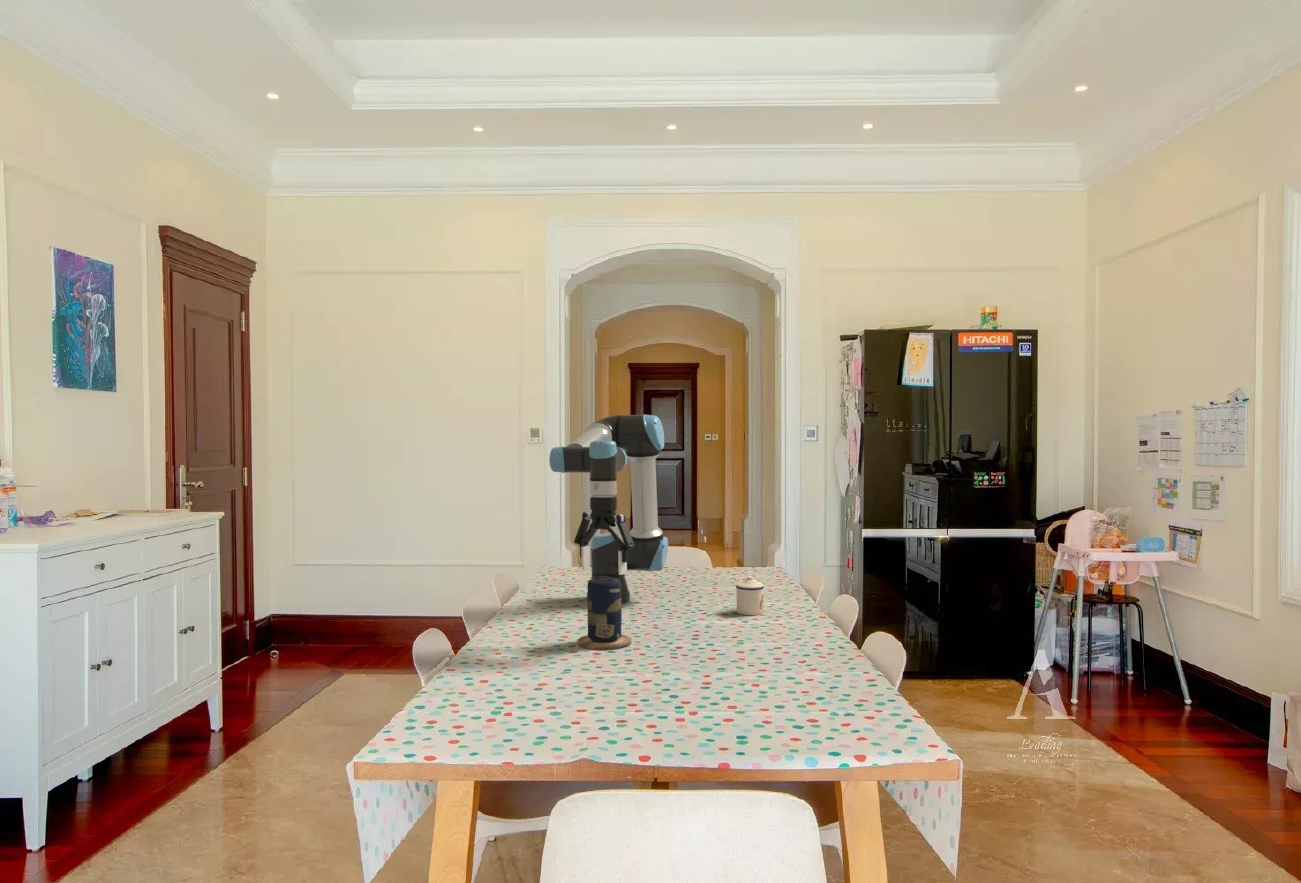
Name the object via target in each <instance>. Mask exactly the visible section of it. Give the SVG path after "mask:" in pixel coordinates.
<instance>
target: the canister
mask: <svg viewBox="0 0 1301 883" xmlns="http://www.w3.org/2000/svg"><path fill="white" fill-rule="evenodd" d="M587 592H588V599H587V598H586V601H587V600H588V601H587V603H586V604H587V607H586V608H587V635H588V637H589V638H590V639H591V640H593V641H598V642H609V641H614V640H617V639H619V638H620V637H621V634H622V615H623V614H622V603H621V599H622V598H621V581H620V580H619V579H617V578H611V577H607V576H599V577H596V578H593V579H591V578H590V579H589V580H588V582H587Z"/></svg>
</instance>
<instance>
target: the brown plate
mask: <svg viewBox="0 0 1301 883" xmlns="http://www.w3.org/2000/svg"><path fill="white" fill-rule="evenodd" d="M631 644H632V638H631V637H630V636H628V635H626V634H622V633H621V637H620V638H619V639H617V640H614V641H609V642H598V641H593V640H591V639H590V638H589V637H588V634H587V635H584V636H582V637H579V638H578V639H577V645H578V646H579V647H581V648H583V649H586V650H593V651H612V650H620V649H623V648H626V647H628V646H630V645H631Z"/></svg>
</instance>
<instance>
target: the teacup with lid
mask: <svg viewBox="0 0 1301 883" xmlns="http://www.w3.org/2000/svg"><path fill="white" fill-rule="evenodd" d="M735 588H736V613H738V614H739V615H742V616H743V615H744V616H758V615H762V614H763V613H764V588H765V586H764V583H763V582H759V581H757V580H756V579H754V577H753V576H751V575H748V576H747V577H746V579H744V580H742V581H740V582H738V583H736V584H735Z"/></svg>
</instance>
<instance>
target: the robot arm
mask: <svg viewBox="0 0 1301 883" xmlns="http://www.w3.org/2000/svg"><path fill="white" fill-rule="evenodd" d="M664 448H665V433H664V427H663V424H662V421H661V419H660V418H659V416H657V415H654V414H653V415H652V414H626V415H625V414H624V415H619V414H617V415H610V416H606V417H603V418H601V419H598V420H596V421H594V422H592V423H591V424H589V425H588V426H587V427H586V428H585V430H584V433H582V434H580V436H579V437H577V438H576V439H575V440H573V441H572V442H571V443H569V444H568V445H567V446H555V447H552V448H551V450H550V452H549V459H548V460H549V468H550V469H551V471H552V472H555V473H562V474H565V473H567V474H568V473H589V495H590V496H591V497H590V498H589V510H591V511H583V512H582V514H581V515H582V516H581V521H580V524H579V526H578V530H577V531H576V534H575V537H574V540H573V543H574V544H577V545H578V546H579V556H580V557H579V558H581V571H586V570H590V569H591V578H590V579H593V578H596V577H599V576H607V577H611V578H617V579H619V580H620V581H621V598H622V599H621V604H622V603H626V602H629V601H630V600H631V592H630V590H629V587H628V583H627V580H626V575H627V574H628V571H640V572H641V571H643V572H655V571H656V572H657V571H658V572H660V571H662V570H663V569H664V568H665V565H666V563H667V556H668V550H669V540H668V537H667V536H664V533H663V530H662V529H661V528H660V527H659V524H658V523H659V518H658V514H659V513H658V496H657V495H658V494H657V488H658V487H657V467H656V466H657V465H656V462H657V461H656V460H657V459H658V457H659V456H660V451H662V450H663V449H664ZM628 460H629V461H630V462H629V466H630V486H631V488H630V489H631V490H630V491H631V510H632V528H631V529H629V527H628V524H627V522H626V521H627V520H626V515H625V514H624V513H622V514H621V513H620V514H617V513H616V510H617V509H618V498H617V496H616V495H617V494H618V482H617V480H618V479H617V478H618V476H617V475H618V474H617V473H619V472H621V471H622V470H623V469H625V467H626V465H627V464H628ZM591 520H592V521H591ZM598 530H604V531H605V530H607V532H605V533H600V534H596V532H597V531H598ZM595 534H596V535H595ZM594 535H595V536H594ZM590 541H591V545H589V543H590ZM587 599H588V591H587V592H586V601H587V602H588V600H587Z"/></svg>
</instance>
